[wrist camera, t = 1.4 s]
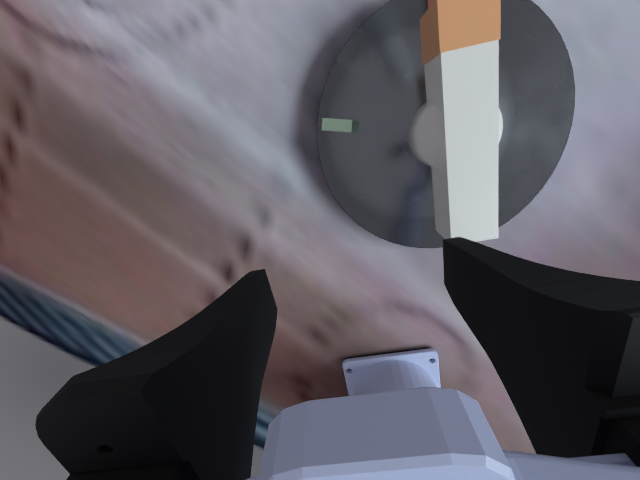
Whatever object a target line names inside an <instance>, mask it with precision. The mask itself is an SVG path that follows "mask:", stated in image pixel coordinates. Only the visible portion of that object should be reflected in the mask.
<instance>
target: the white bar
mask: <svg viewBox="0 0 640 480" xmlns="http://www.w3.org/2000/svg"><path fill="white" fill-rule="evenodd" d="M420 34H421V47H422V61H423V65H424V71H425V85H426V99H427V102H426V103H425V104H423V105H422V106H421V107H420V108H419V109H418V110H417V112H416V113H415V114H414V116H413V118H412V120H411V122H410V125H409V129H408V143H409V146H410V149H411V151H412V153H413V155H414V156H415V157H416V158H417V159H418V160H419V161H421V162H422V163H424V164H426V165H429V166H431V169H432V183H433V197H434V211H435V225H436V231H437V232H438V233H439V234H440V235H441V236H442V237H443V238H444V239H449V238H455V237H462V238H465V239H468V240H471V241H474V242H476V241H483V240H489V239H495V238H498V156H499V142H500V139H501V136H502V131H503V119H502V114H501V111H500V109H499V39H501V0H435V1H434V2H433V3H432V5H431V6H430V7H429V8H428V10H427V11H426V12H425V14H424V15H423V16H422V17H421V19H420Z"/></svg>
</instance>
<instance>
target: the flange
mask: <svg viewBox="0 0 640 480" xmlns="http://www.w3.org/2000/svg"><path fill="white" fill-rule="evenodd" d="M434 1H435V0H391V1H389V2H388V3H387V4H385V5H384V6H382V7H381V8H379V9H378V10H377V11H376V12H375V13H373V14H372V15H371V16H370V17H369V18H368V19H367V20H366V21H364V22H363V23H362V25H361V26H360V27H359V28H358V29H357V30H356V31H355V33H354V34H353V35H352V36H351V37H350V38H349V40H348V41H347V43H346V44H345V46H344V47H343V49H342V50H341V52H340V53H339V55H338V57H337V59H336V61H335V63H334V64H333V66H332V68H331V70H330V73H329V75H328V78H327V81H326V83H325V86H324V89H323V93H322V97H321V101H320V105H319V112H318V120H317V144H318V152H319V158H320V162H321V166H322V170H323V173H324V176H325V178H326V181H327V183H328V186H329V188H330V190H331V191H332V193H333V195H334V197H335V198H336V200H337V201H338V203H339V204H340V205H341V207H342V208H343V209H344V211H345V212H346V213H347V214H348V215H349V216H350V217H351V218H352V219H353V220H354V221H355V222H356V223H358V224H359V225H360V226H362V227H363V228H364V229H366V230H367V231H369V232H371V233H372V234H374V235H376V236H378V237H380V238H382V239H385V240H387V241H389V242H392V243H396V244H400V245H403V246H409V247H416V248H439V247H443V239H444V238H443V237H442V236H441V235H440V234H439V233H438V232H437V231H436V225H435V211H434V197H433V183H432V169H431V166H429V165H426V164H424V163H422V162H421V161H419V160H418V159H417V158H416V157H415V156H414V155H413V153H412V151H411V149H410V146H409V143H408V129H409V125H410V122H411V120H412V118H413V116H414V114H415V113H416V112H417V110H418V109H419V108H420V107H421V106H422V105H423V104H425V103H426V102H427V99H426V85H425V71H424V65H423V61H422V47H421V34H420V19H421V17H422V16H423V15H424V14H425V12H426V11H427V10H428V8H429V7H430V6H431V5H432V3H433V2H434ZM574 107H575V84H574V76H573V68H572V65H571V61H570V57H569V54H568V50H567V48H566V46H565V44H564V41H563V39H562V37H561V35H560V33H559V32H558V30H557V29H556V27H555V26H554V24H553V22H552V21H551V19H550V18H549V17H548V16H547V15H546V14H545V13H544V12H543V11H542V10H541V9H540V7H539V6H537V5H536V4H535V3H533V2H532V1H531V0H501V39H499V109H500V111H501V114H502V119H503V131H502V136H501V139H500V142H499V156H498V227H500V226H502V225H503V224H505V223H506V222H508V221H509V220H510V219H512V218H513V217H514V216H516V215H517V214H518V213H519V212H520V211H521V210H522V209H524V208H525V207H526V206H527V205H528V204H529V203H530V202H531V201H532V200H533V198H534V197H535V196H536V195H537V194H538V193H539V191H540V190H541V189H542V188H543V186H544V185H545V183H546V182H547V181H548V179H549V178H550V176H551V175H552V173H553V171H554V169H555V168H556V166H557V164H558V162H559V160H560V158H561V156H562V153H563V151H564V148H565V146H566V143H567V140H568V137H569V133H570V129H571V126H572V121H573V114H574Z"/></svg>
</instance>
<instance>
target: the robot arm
mask: <svg viewBox="0 0 640 480" xmlns="http://www.w3.org/2000/svg"><path fill="white" fill-rule="evenodd" d="M443 259H444V284H445V286H446V288H447V291H448V293H449V295H450V297H451V299H452V301H453V303H454V305H455V307H456V308H457V310H458V311H459V313H460V314H461V316H462V317H463V319H464V320H465V322H466V323H467V325H468V326H469V328H470V329H471V331H472V332H473V334H474V335H475V337H476V338H477V340H478V341H479V343H480V344H481V346H482V347H483V349H484V350H485V352H486V353H487V355H488V357H489V358H490V360H491V362H492V364H493V366H494V367H495V369H496V371H497V373H498V375H499V377H500V379H501V381H502V383H503V385H504V387H505V389H506V391H507V393H508V395H509V397H510V399H511V401H512V403H513V405H514V407H515V409H516V411H517V413H518V415H519V417H520V419H521V421H522V423H523V426H524V428H525V430H526V432H527V434H528V436H529V438H530V441H531V443H532V445H533V447H534V449H535V451H536V454H531V453H523V452H515V451H507V450H502V449H501V447H500V445H499V443H498V441H497V439H496V437H495V435H494V433H493V431H492V429H491V427H490V425H489V423H488V421H487V419H486V417H485V415H484V413H483V411H482V409H481V407H480V405H479V403H478V401H476V400H474V399H472V398H471V397H469V396H467V395H465V394H463V393H462V392H460V391H458V390H456V389H451V388H441V387H440V374H439V362H438V354H437V351H436V350H435V349H433V348H430V349H422V350H414V351H406V352H398V353H390V354H382V355H374V356H366V357H358V358H350V359H345V360H344V361H343V362H342V367H343V371H344V376H345V381H346V385H347V390H348V394H349V396H344V397H335V398H327V399H318V400H310V401H306V402H303V403H300V404H296V405H293V406H290V407H287V408H285V409H283V410H282V411H281V412H280V413H279V414H278V415H277V416H276V417H275V418H274V419H273V420H272V422H271V423H270V424H269V426H268V432H267V437H266V442H265V448H264V454H263V459H262V465H261V469H260V475H258V476H255V477H252V478H250V476H251V466H252V455H253V445H254V436H255V428H256V419H257V411H258V405H259V398H260V391H261V386H262V381H263V376H264V372H265V369H266V365H267V361H268V357H269V353H270V349H271V345H272V341H273V337H274V333H275V328H276V319H277V306H276V303H275V300H274V297H273V294H272V291H271V287H270V284H269V281H268V278H267V275H266V271H265V269H262V270H256V271H251V272H249V273H248V274H246V275H245V276H244V277H242V278H241V279H240V280H239V281H238V282H236V283H235V284H234V285H233V286H232V287H231V288H229V289H228V290H227V291H226V292H225V293H224V294H222V295H221V296H220V297H219V298H217V299H216V300H215V301H214V302H212V303H211V304H210V305H209V306H207V307H206V308H205V309H203V310H202V311H201V312H199V313H198V314H197V315H195V316H194V317H192V318H191V319H190V320H188V321H186V322H185V323H183V324H182V325H180V326H179V327H177V328H176V329H174V330H172V331H170V332H169V333H167V334H165V335H163V336H161V337H160V338H158V339H156V340H154V341H153V342H151V343H149V344H147V345H145V346H143V347H141V348H139V349H137V350H135V351H133V352H130V353H128V354H126V355H124V356H122V357H120V358H117V359H115V360H113V361H110V362H108V363H105V364H103V365H100V366H98V367H95V368H93V369H90V370H88V371H85V372H83V373H80V374H77V375H75V376H73V377H72V378H71V379H70V380H69V381H68V382H67V383H66V384H65V385H64V386H63V387H62V388H61V389H60V390H59V391H58V392H57V393H56V394H55V396H54V397H53V398H52V399H51V400H50V401H49V402H48V403H47V404H46V405H45V406H44V407H43V408H42V409H41V411H40V412H39V414H38V415H37V418H36V430H37V433H38V437H39V438H40V439H41V441H42V443H43V444H44V445H45V446H46V448H47V449H48V450H49V451H50V452H51V453H52V454H53V455H54V456H55V458H56V459H57V460H58V461H59V462H60V463H61V464H62V465H63V467H64V468H65V469H66V470H67V471H68V472H69V473H70V475H69V477H68V478H67V480H640V281H633V280H624V279H616V278H609V277H602V276H596V275H590V274H584V273H578V272H573V271H568V270H564V269H559V268H555V267H551V266H547V265H543V264H539V263H535V262H532V261H528V260H525V259H522V258H519V257H515V256H513V255H510V254H507V253H504V252H501V251H498V250H495V249H493V248H490V247H487V246H485V245H482V244H479V243H477V242H474V241H471V240H468V239H465V238H462V237H455V238H449V239H443ZM432 358H434V359H433V360H430V359H432ZM347 369H351V370H347Z"/></svg>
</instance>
